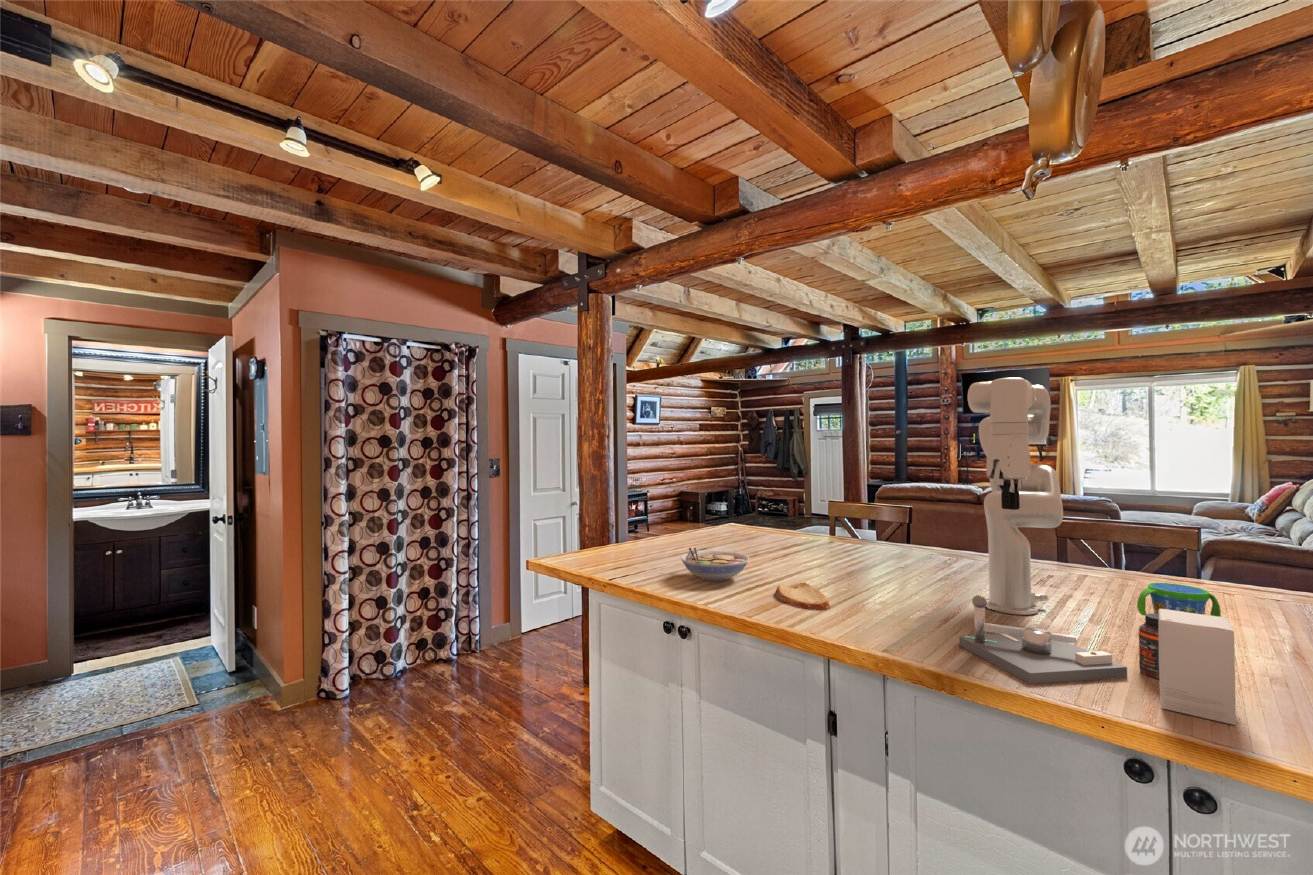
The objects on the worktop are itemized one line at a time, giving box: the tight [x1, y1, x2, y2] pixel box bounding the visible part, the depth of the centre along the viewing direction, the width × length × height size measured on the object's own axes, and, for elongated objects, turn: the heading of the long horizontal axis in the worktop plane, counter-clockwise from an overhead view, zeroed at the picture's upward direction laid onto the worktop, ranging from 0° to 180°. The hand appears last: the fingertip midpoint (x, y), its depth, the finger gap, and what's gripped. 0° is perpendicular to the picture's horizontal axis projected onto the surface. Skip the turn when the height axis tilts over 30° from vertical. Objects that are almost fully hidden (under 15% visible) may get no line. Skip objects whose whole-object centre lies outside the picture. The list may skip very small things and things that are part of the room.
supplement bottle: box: [1138, 612, 1159, 680], centre depth 105 cm, size 6×6×11 cm
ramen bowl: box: [680, 547, 750, 583], centre depth 184 cm, size 25×23×8 cm
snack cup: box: [1136, 582, 1222, 617], centre depth 130 cm, size 16×10×10 cm
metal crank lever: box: [971, 594, 1077, 654], centre depth 115 cm, size 18×5×10 cm, turn 58°
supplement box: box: [1158, 609, 1237, 726], centre depth 93 cm, size 9×9×15 cm
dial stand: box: [958, 633, 1128, 685], centre depth 113 cm, size 20×20×4 cm
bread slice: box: [774, 581, 832, 611], centre depth 160 cm, size 18×18×4 cm
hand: (1010, 508), depth 129 cm, fingers closed
